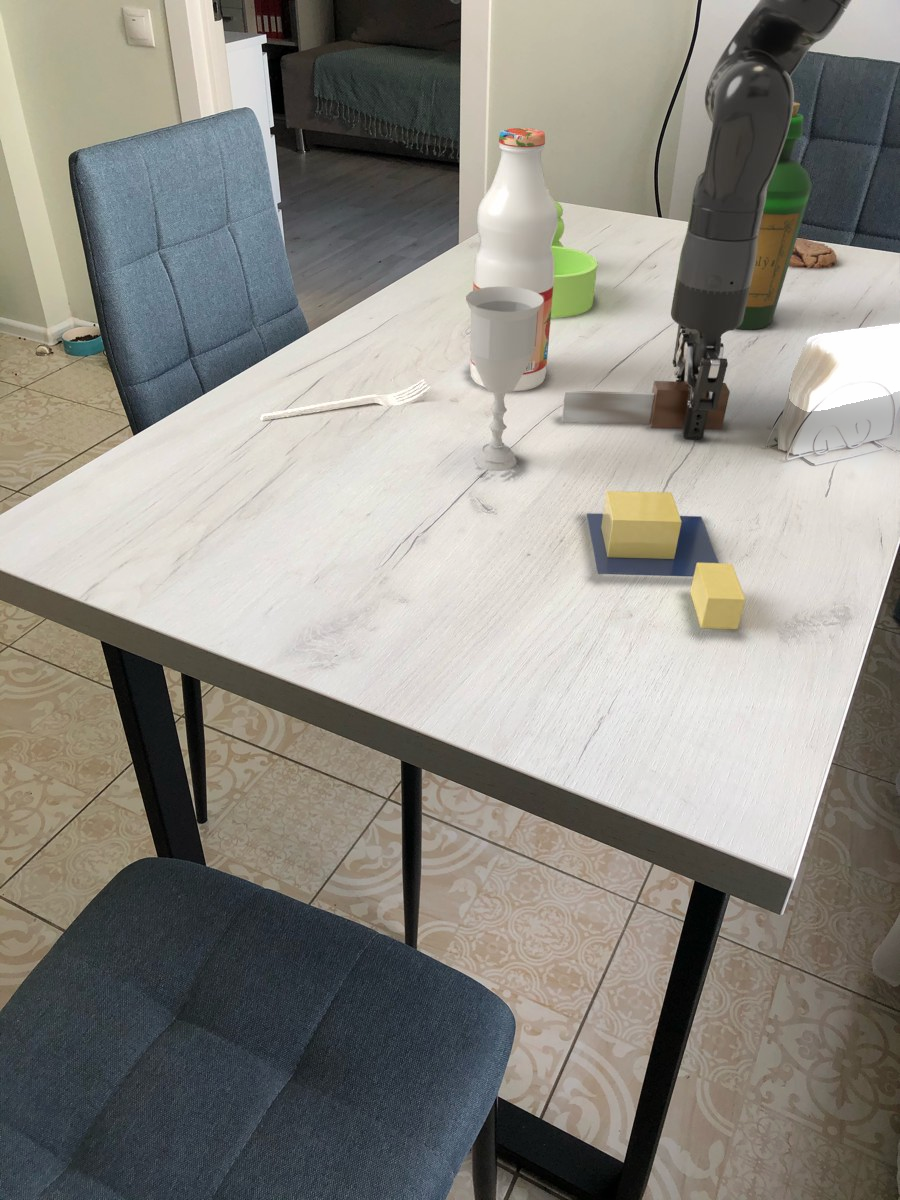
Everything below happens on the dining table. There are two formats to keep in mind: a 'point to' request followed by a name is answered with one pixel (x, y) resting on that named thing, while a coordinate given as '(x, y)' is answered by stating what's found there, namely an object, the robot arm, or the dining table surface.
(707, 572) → the butter slice
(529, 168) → the fruit juice
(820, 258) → the cookie
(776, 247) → the bottle
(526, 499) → the dining table surface
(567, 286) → the food container
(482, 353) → the chalice
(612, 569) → the butter dish
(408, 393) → the fork
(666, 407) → the knife
